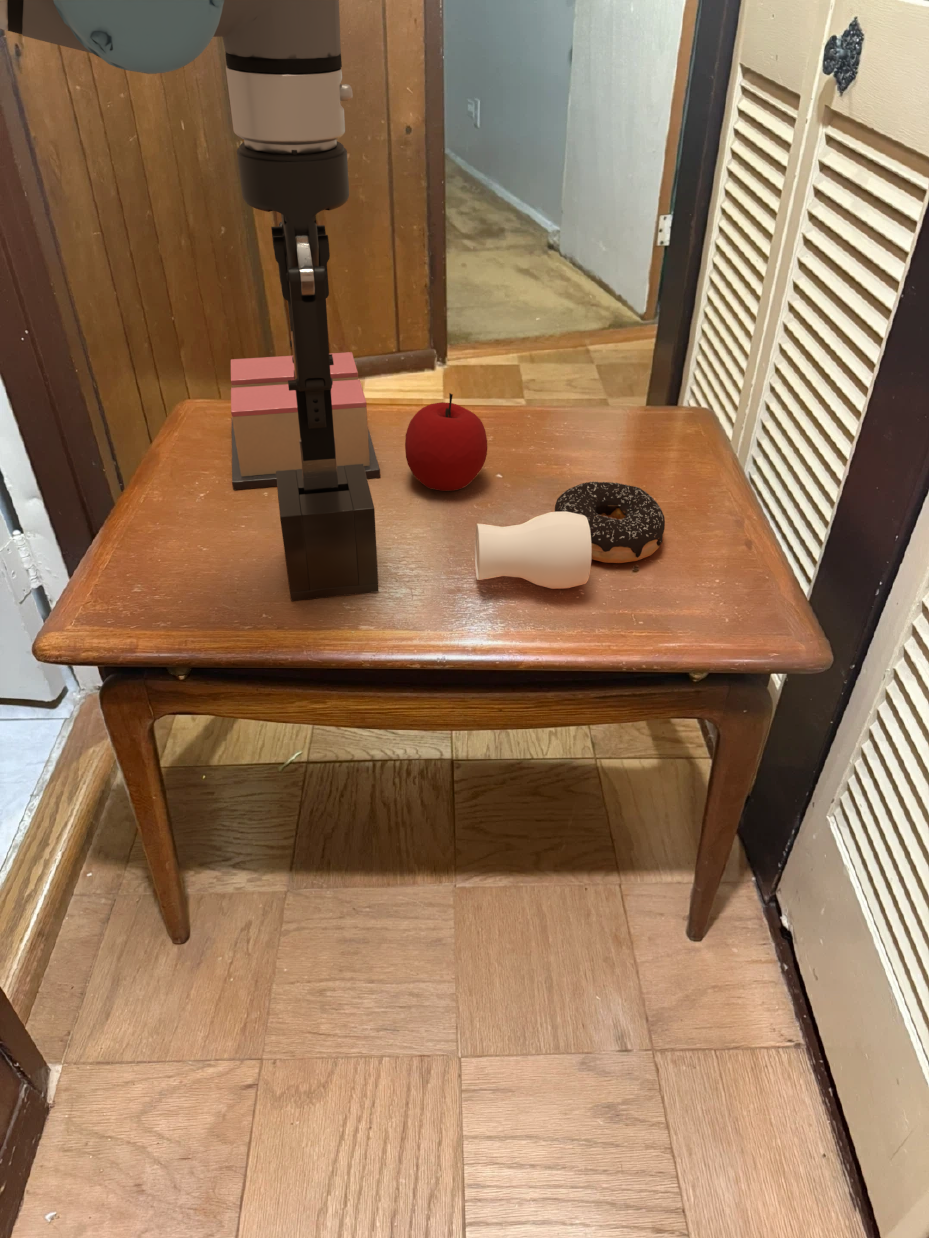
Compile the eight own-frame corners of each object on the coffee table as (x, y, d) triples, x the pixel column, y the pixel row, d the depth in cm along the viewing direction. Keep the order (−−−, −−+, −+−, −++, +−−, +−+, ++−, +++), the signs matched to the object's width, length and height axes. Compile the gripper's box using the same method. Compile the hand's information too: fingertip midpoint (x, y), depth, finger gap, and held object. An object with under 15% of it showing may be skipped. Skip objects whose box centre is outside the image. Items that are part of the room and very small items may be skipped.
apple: (390, 472, 97) (387, 388, 91) (460, 454, 101) (462, 372, 95) (428, 510, 91) (428, 423, 85) (501, 490, 95) (506, 405, 88)
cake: (233, 490, 93) (220, 416, 88) (232, 424, 106) (221, 356, 100) (380, 477, 96) (377, 405, 91) (363, 415, 108) (359, 348, 103)
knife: (309, 545, 79) (289, 340, 67) (308, 533, 80) (288, 331, 68) (342, 542, 79) (328, 338, 67) (340, 530, 81) (326, 329, 69)
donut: (629, 500, 94) (634, 467, 91) (684, 560, 85) (691, 525, 82) (534, 515, 91) (537, 482, 88) (581, 579, 82) (586, 544, 80)
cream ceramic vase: (478, 606, 78) (586, 603, 79) (480, 541, 74) (595, 538, 75) (472, 561, 84) (573, 559, 85) (474, 498, 80) (581, 496, 80)
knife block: (291, 601, 78) (279, 516, 73) (286, 552, 84) (275, 470, 79) (378, 591, 80) (374, 508, 74) (368, 544, 86) (363, 463, 80)
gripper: (358, 163, 54) (372, 490, 69) (335, 121, 66) (352, 409, 80) (236, 165, 53) (277, 498, 68) (234, 122, 64) (270, 415, 79)
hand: (317, 449), depth 74 cm, fingers closed on knife, 2 cm apart
